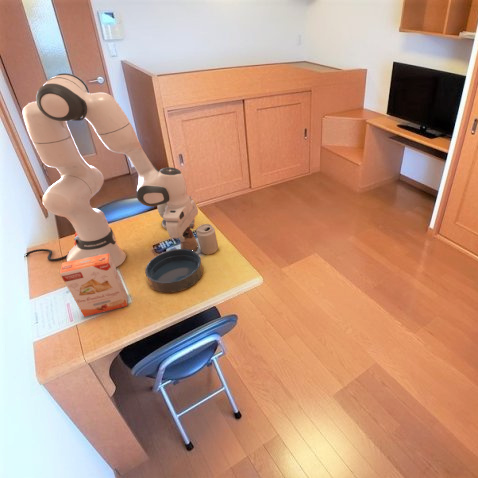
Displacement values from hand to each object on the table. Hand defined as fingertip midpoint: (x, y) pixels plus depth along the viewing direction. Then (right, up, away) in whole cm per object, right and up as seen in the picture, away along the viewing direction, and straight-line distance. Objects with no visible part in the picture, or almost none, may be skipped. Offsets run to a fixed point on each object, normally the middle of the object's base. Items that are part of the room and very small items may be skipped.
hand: (187, 234), depth 150 cm
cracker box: (-20, -27, -24) cm, 41 cm away
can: (+8, -7, +4) cm, 11 cm away
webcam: (-13, +6, +20) cm, 25 cm away
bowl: (-1, -17, -10) cm, 19 cm away
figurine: (-1, -6, +4) cm, 8 cm away
